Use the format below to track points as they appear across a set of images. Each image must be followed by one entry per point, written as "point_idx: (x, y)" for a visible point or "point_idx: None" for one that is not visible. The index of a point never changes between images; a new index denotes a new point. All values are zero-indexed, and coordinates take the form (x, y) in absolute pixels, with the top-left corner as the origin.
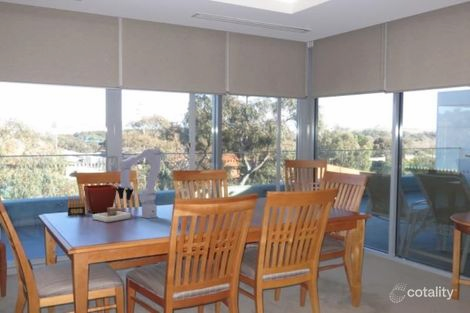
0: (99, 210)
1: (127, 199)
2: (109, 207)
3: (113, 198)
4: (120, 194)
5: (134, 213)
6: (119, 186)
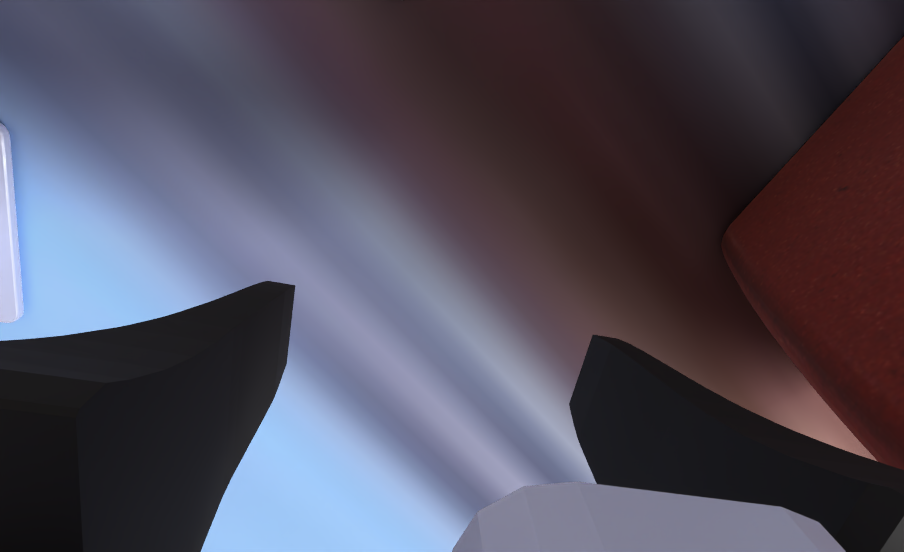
0: (879, 77)
1: (264, 283)
2: (768, 221)
3: (827, 331)
4: (649, 416)
5: (308, 312)
6: (818, 545)
